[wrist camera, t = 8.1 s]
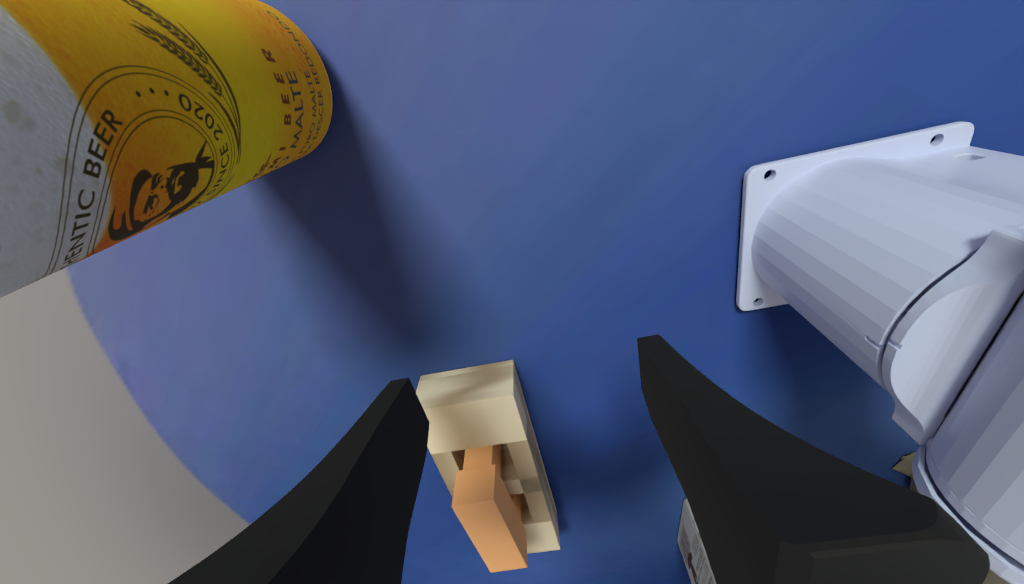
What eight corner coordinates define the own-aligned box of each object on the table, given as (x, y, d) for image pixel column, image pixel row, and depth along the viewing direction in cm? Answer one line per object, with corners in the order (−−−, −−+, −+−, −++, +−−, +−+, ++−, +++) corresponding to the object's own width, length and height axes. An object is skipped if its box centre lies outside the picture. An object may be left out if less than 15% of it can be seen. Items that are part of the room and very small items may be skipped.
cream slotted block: (513, 359, 25) (513, 394, 22) (556, 510, 33) (560, 549, 30) (420, 375, 26) (410, 411, 23) (485, 519, 33) (482, 558, 31)
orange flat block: (497, 418, 27) (493, 499, 22) (525, 484, 30) (527, 567, 25) (463, 425, 27) (451, 506, 22) (494, 489, 30) (490, 572, 26)
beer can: (312, 183, 19) (-94, 433, 6) (178, 107, 18) (-729, 239, 5) (361, 61, 17) (-149, 73, 4) (210, -40, 15) (-1541, -606, 2)
